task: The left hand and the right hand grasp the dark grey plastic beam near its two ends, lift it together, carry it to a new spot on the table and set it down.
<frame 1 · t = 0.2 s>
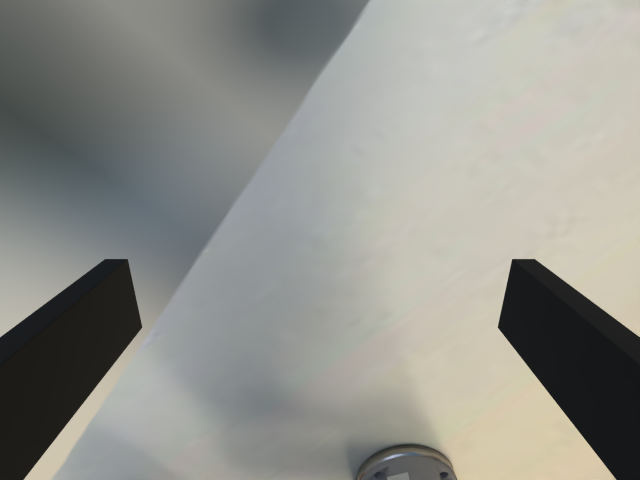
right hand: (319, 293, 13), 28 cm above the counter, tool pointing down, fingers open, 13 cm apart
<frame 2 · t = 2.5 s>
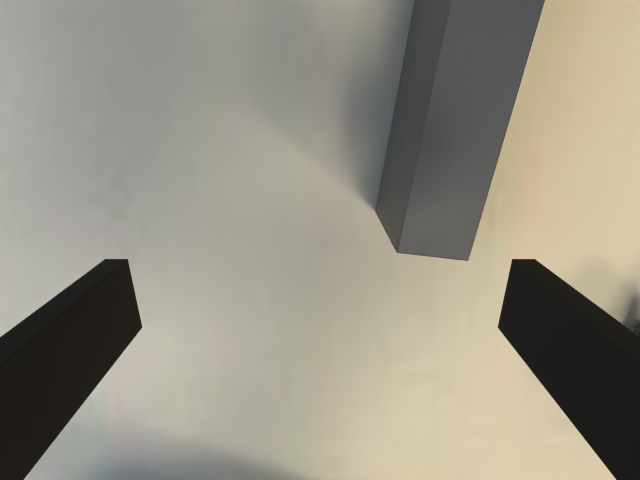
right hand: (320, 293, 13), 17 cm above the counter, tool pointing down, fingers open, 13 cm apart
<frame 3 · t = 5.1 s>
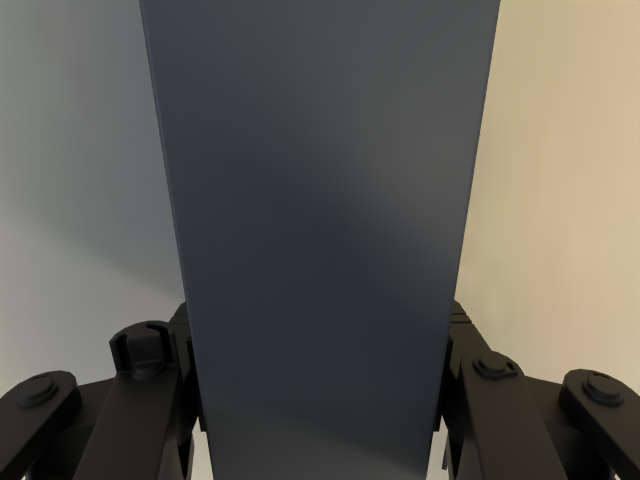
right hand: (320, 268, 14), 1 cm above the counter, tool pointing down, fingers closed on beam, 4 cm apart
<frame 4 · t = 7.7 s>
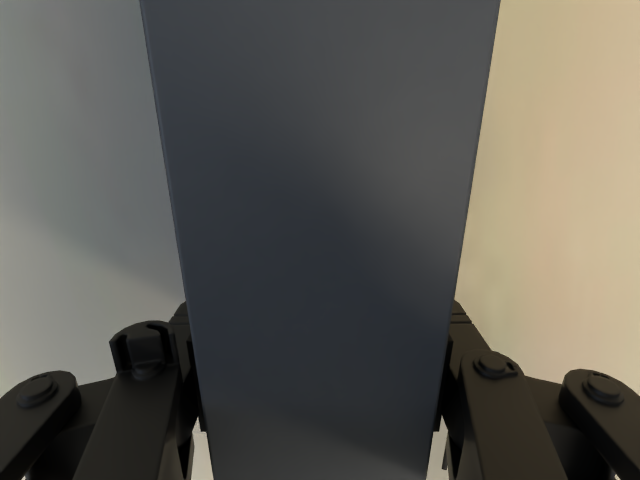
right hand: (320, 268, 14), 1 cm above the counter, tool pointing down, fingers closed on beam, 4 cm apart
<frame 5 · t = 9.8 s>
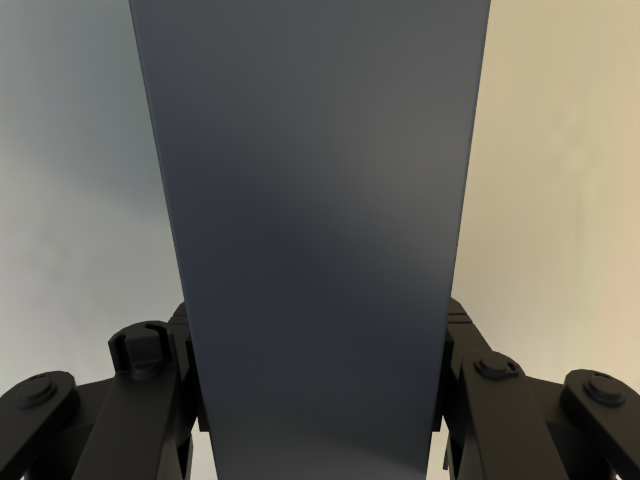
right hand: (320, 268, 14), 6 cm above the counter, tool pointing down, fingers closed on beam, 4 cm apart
when the right hand's fingers open (2 cm above the counter, at t = 11.5 s): beam drops 1 cm, on the counter.
when the left hand's fingers open (4 cm above the counter, at t = 11.7 s): beam stays where it is, on the counter.
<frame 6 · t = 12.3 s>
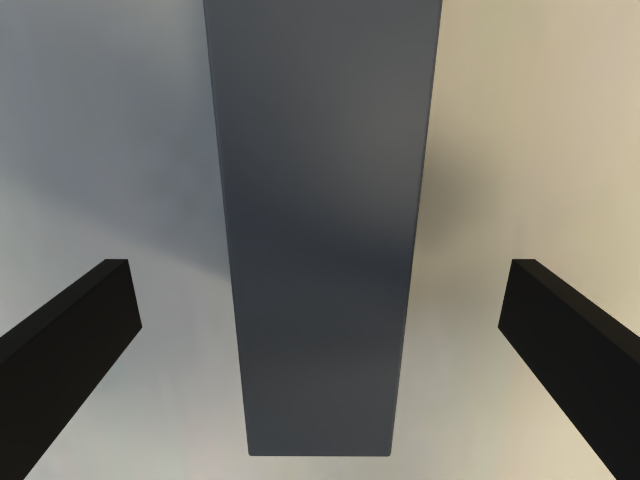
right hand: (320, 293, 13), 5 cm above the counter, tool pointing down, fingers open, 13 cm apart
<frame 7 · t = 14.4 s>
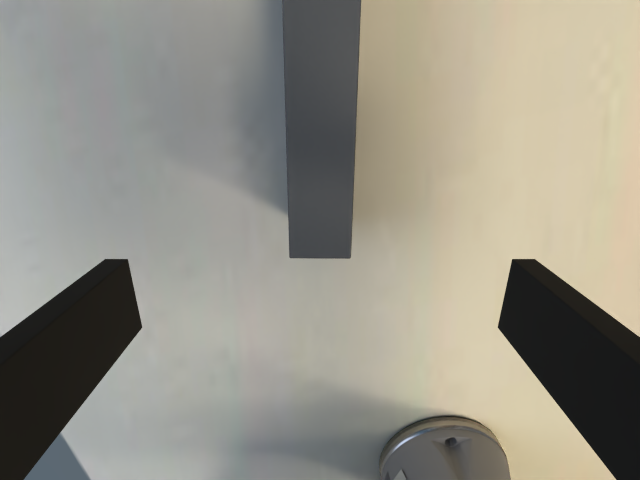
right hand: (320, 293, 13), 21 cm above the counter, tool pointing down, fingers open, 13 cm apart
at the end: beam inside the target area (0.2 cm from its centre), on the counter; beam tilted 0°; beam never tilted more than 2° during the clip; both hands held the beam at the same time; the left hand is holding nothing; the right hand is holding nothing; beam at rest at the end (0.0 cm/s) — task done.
